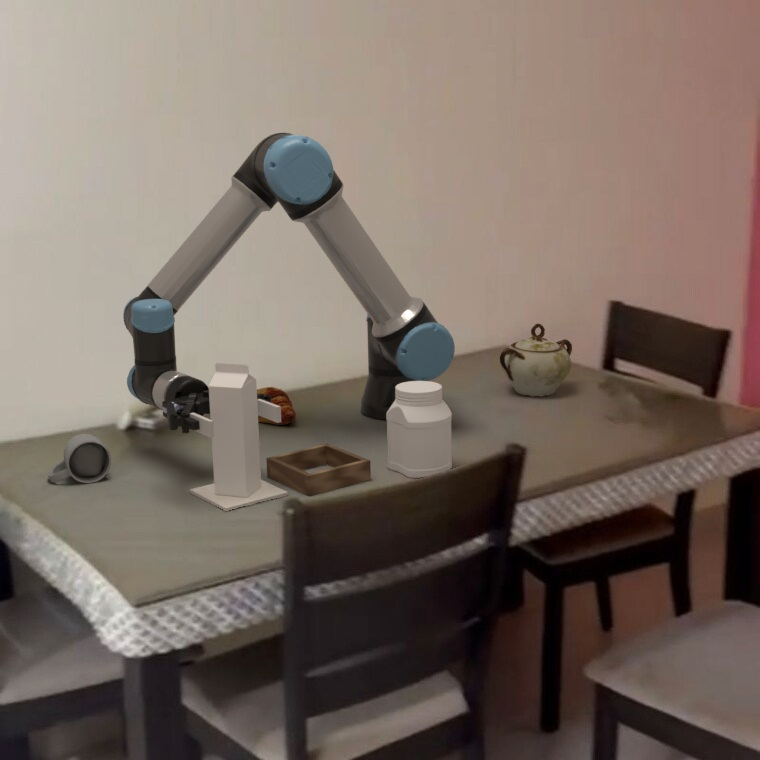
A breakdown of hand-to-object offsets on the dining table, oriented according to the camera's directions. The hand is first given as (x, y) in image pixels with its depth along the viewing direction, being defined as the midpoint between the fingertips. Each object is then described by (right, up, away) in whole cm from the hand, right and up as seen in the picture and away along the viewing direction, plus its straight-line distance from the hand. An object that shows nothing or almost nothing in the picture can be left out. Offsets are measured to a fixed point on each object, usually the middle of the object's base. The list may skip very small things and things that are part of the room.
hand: (246, 421), depth 205 cm
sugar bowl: (+56, +4, +67) cm, 87 cm away
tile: (-2, -12, +6) cm, 14 cm away
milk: (-2, -12, +6) cm, 14 cm away
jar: (+29, -9, +18) cm, 35 cm away
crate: (+11, -10, +13) cm, 20 cm away
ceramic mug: (-31, -11, +16) cm, 37 cm away
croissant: (-1, -1, +52) cm, 52 cm away
